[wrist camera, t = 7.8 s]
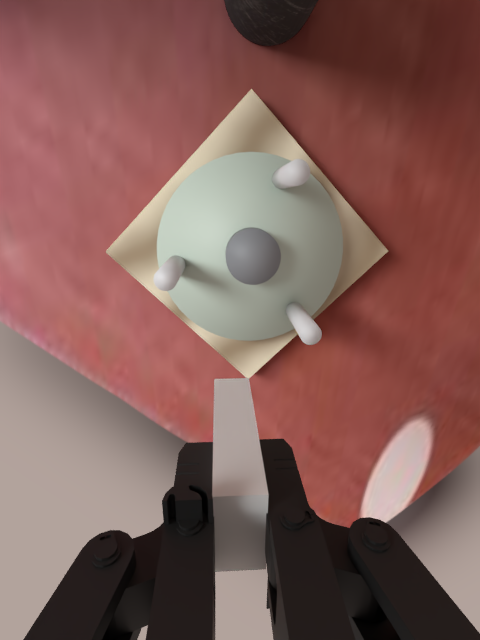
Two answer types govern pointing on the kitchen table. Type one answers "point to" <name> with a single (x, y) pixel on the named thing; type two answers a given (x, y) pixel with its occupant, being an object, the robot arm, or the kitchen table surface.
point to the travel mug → (269, 18)
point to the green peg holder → (250, 247)
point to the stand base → (228, 138)
